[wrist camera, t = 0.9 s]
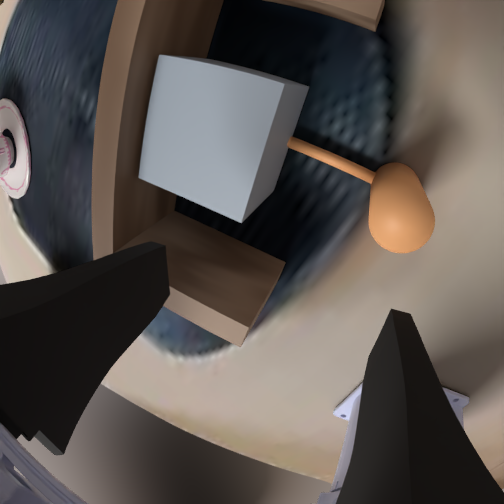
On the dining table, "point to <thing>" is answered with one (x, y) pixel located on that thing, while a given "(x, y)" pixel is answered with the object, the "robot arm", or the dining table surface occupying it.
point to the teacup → (16, 178)
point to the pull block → (256, 147)
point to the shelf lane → (163, 201)
